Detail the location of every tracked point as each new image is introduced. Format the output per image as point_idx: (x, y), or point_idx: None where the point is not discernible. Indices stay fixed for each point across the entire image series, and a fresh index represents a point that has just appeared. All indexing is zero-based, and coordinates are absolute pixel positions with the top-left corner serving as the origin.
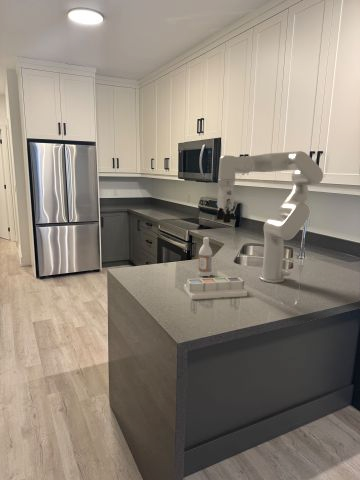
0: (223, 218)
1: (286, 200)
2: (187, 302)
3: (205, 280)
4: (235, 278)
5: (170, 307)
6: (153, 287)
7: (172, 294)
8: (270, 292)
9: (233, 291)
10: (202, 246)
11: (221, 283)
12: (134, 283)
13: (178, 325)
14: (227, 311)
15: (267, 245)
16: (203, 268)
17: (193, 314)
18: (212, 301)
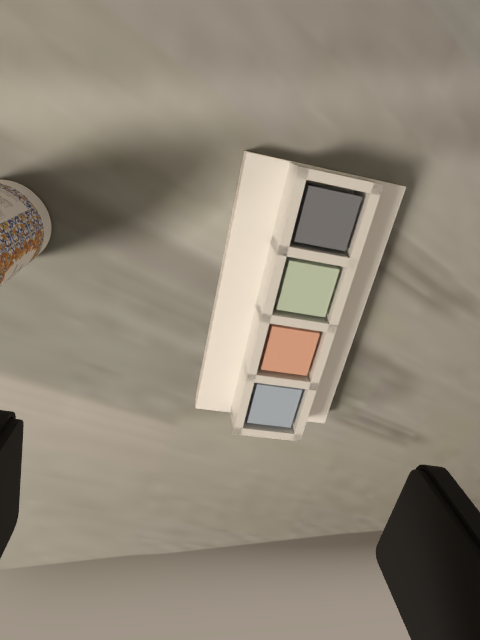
0: (410, 618)
1: None
2: (336, 431)
3: (272, 360)
4: (307, 194)
5: (347, 486)
6: (146, 490)
7: (243, 452)
8: (422, 10)
9: (370, 250)
10: None
11: (341, 308)
12: (79, 535)
13: None
14: (471, 345)
15: None
16: (28, 261)
17: (427, 446)
18: (371, 353)
